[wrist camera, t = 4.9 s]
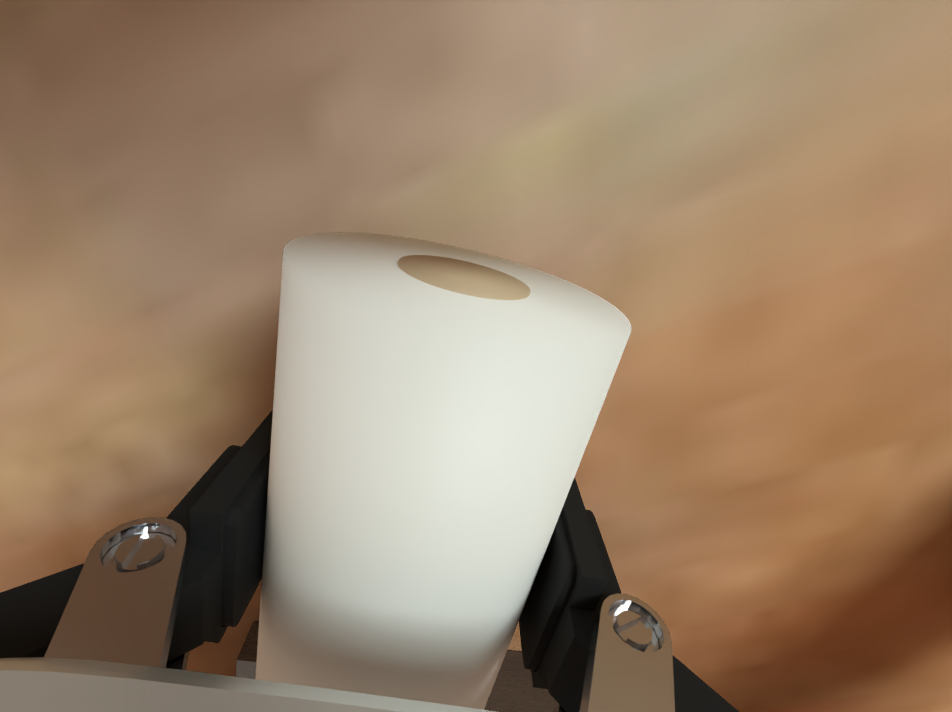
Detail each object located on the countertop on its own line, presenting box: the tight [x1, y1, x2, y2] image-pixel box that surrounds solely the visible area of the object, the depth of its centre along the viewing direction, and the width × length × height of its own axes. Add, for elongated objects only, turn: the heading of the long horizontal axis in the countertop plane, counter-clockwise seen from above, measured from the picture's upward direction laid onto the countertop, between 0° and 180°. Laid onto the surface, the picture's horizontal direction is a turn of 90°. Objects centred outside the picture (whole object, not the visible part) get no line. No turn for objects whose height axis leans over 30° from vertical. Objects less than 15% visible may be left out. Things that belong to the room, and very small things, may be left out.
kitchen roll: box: [255, 232, 631, 710], centre depth 10 cm, size 6×12×6 cm, turn 167°
